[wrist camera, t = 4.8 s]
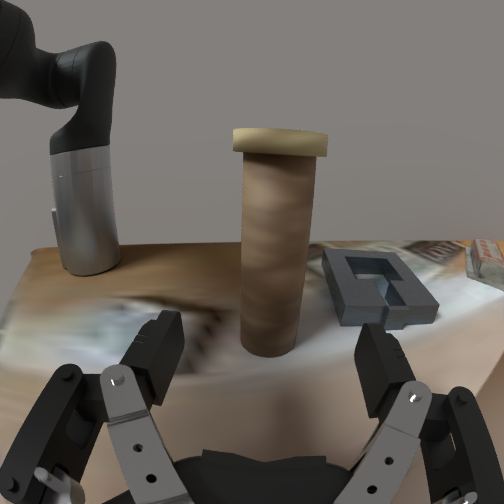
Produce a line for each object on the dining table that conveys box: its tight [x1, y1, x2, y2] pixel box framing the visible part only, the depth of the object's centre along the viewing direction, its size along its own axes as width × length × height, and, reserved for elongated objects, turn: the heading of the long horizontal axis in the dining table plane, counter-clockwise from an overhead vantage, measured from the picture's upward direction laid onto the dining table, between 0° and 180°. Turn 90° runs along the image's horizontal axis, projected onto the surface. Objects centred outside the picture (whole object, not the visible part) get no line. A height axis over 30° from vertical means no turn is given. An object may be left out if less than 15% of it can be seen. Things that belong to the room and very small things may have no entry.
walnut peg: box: [233, 128, 328, 357], centre depth 21 cm, size 6×6×18 cm
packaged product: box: [465, 239, 504, 291], centre depth 37 cm, size 18×5×10 cm
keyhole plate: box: [322, 248, 439, 330], centre depth 31 cm, size 12×15×2 cm
